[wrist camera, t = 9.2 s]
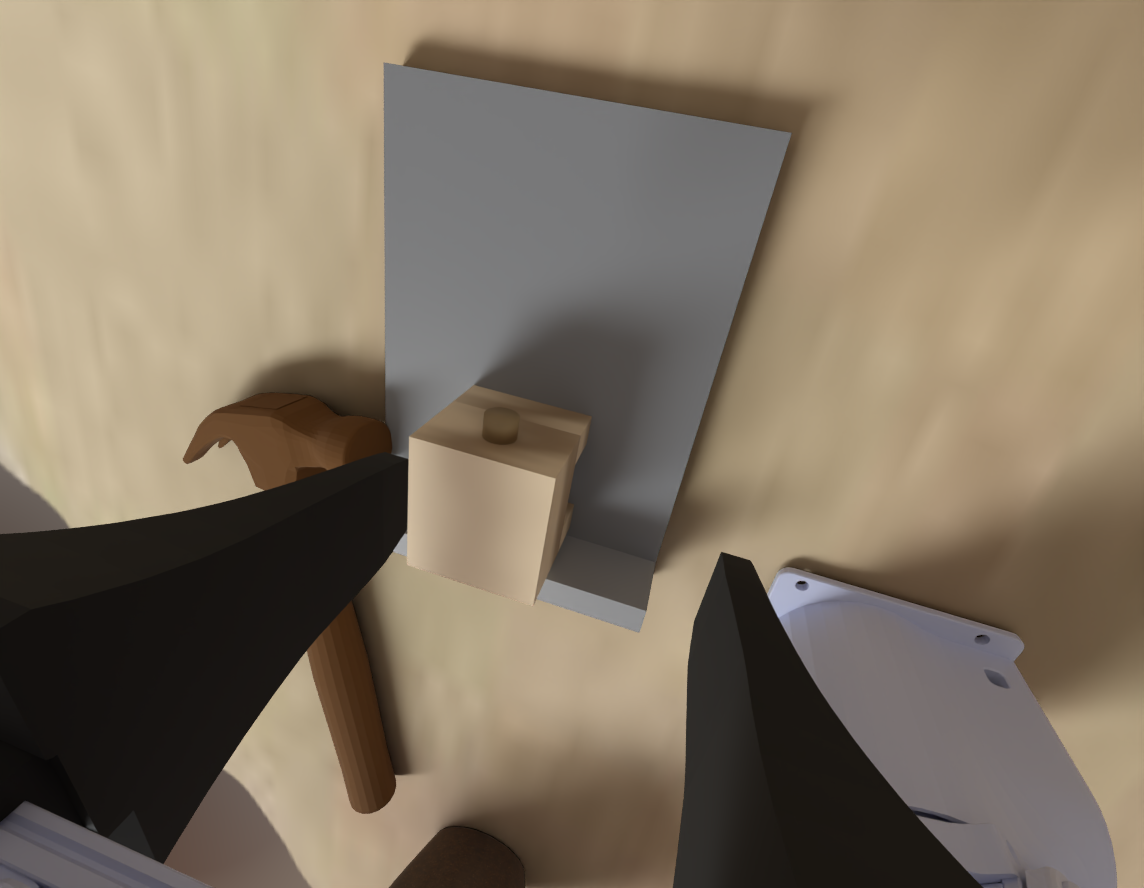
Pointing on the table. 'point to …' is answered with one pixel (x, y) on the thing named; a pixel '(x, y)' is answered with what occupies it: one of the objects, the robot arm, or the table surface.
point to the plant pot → (463, 863)
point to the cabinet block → (493, 491)
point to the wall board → (569, 289)
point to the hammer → (338, 656)
